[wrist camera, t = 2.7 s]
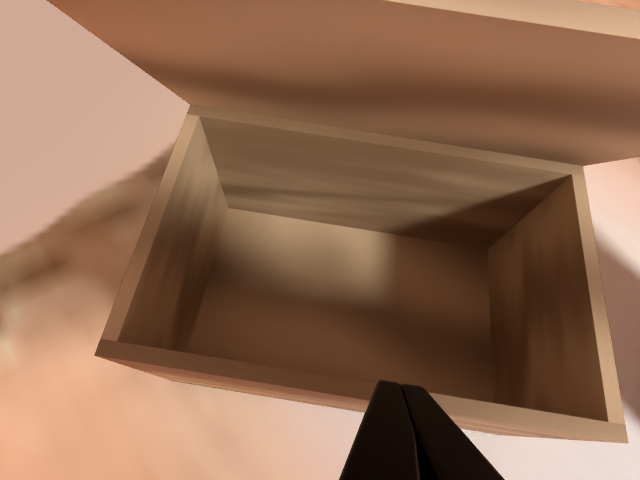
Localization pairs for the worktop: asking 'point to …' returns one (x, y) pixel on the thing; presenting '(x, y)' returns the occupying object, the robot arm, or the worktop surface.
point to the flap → (400, 67)
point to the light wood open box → (372, 277)
